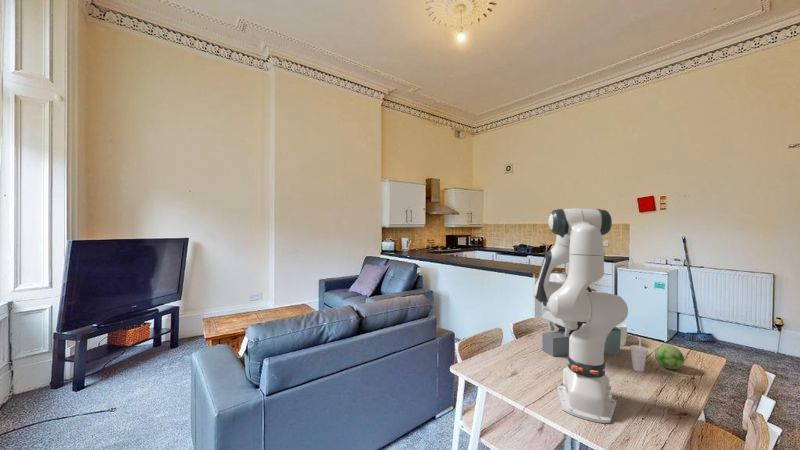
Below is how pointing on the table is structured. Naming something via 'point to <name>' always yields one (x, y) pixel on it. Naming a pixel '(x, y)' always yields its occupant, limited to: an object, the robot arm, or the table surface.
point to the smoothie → (638, 356)
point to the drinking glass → (613, 342)
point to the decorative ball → (669, 356)
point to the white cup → (622, 333)
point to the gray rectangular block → (555, 343)
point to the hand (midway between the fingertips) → (558, 333)
